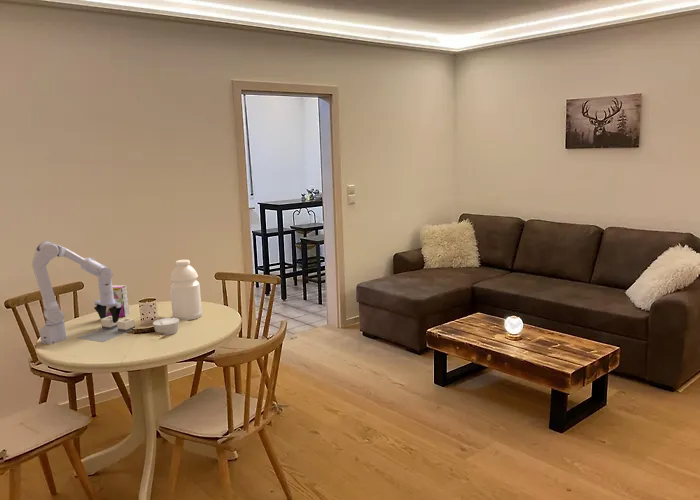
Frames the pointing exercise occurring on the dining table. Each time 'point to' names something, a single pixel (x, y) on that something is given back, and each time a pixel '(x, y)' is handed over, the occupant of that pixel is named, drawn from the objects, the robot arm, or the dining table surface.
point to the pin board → (102, 335)
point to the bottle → (185, 292)
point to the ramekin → (166, 326)
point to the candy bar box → (120, 300)
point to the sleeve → (108, 323)
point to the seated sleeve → (125, 324)
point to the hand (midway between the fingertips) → (109, 321)
